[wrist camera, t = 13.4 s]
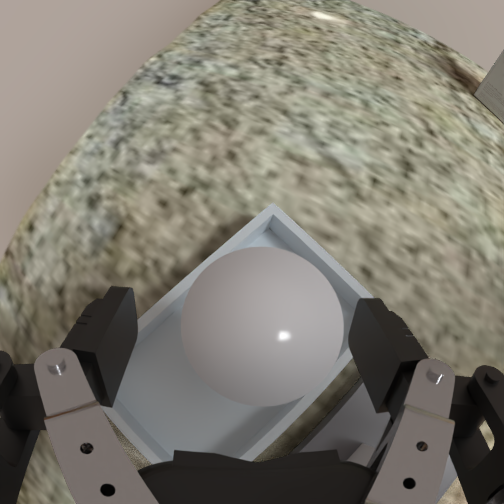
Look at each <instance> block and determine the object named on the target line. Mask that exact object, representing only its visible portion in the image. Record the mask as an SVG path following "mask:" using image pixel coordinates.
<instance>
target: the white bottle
mask: <svg viewBox="0 0 504 504" xmlns="http://www.w3.org/2000/svg"><path fill="white" fill-rule="evenodd" d="M343 332H344V323H343V314H342V310H341V306H340V302H339V300H338V297H337V295H336V293H335V291H334V289H333V287H332V285H331V284H330V283H329V281H328V280H327V278H326V277H325V276H324V275H323V274H322V273H321V272H320V270H318V269H317V268H316V267H315V266H314V265H313V264H311V263H310V262H309V261H307V260H305V259H304V258H302V257H300V256H298V255H296V254H294V253H292V252H289V251H286V250H283V249H278V248H273V247H249V248H243V249H240V250H236V251H233V252H231V253H228V254H226V255H224V256H222V257H220V258H218V259H217V260H215V261H214V262H213V263H211V264H210V265H209V266H207V267H206V268H205V269H204V270H203V271H202V272H201V273H200V275H199V276H198V277H197V278H196V280H195V281H194V283H193V284H192V286H191V288H190V289H189V291H188V294H187V296H186V298H185V301H184V305H183V309H182V315H181V336H182V343H183V346H184V349H185V353H186V355H187V357H188V360H189V362H190V364H191V365H192V367H193V369H194V370H195V372H196V373H197V374H198V376H199V377H200V378H201V379H202V380H203V381H204V382H205V383H206V384H207V385H208V386H209V387H210V388H211V389H213V390H214V391H216V392H217V393H219V394H220V395H222V396H224V397H226V398H228V399H230V400H232V401H235V402H238V403H241V404H245V405H250V406H261V407H266V406H277V405H281V404H286V403H289V402H291V401H294V400H297V399H299V398H301V397H303V396H304V395H306V394H308V393H309V392H310V391H312V390H313V389H315V388H316V387H317V386H318V385H319V384H320V383H321V382H322V381H323V380H324V379H325V378H326V376H327V375H328V374H329V373H330V371H331V369H332V368H333V366H334V364H335V362H336V360H337V358H338V356H339V353H340V349H341V346H342V341H343Z"/></svg>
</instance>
